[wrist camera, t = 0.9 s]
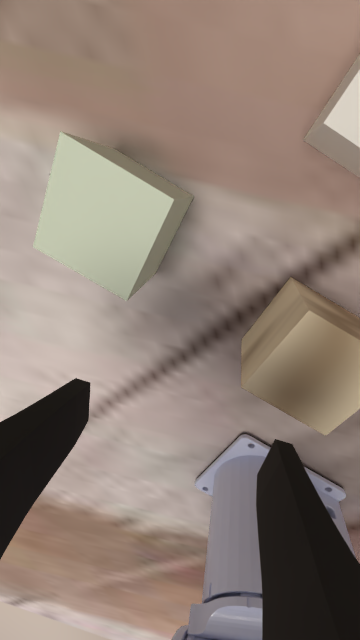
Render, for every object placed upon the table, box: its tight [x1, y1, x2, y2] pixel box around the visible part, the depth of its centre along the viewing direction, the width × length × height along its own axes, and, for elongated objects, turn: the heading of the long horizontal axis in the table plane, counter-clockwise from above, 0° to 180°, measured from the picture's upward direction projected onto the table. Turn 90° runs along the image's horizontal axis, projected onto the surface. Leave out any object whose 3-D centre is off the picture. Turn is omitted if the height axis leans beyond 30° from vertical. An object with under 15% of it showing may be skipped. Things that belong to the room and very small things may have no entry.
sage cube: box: [33, 131, 194, 301], centre depth 14 cm, size 5×5×5 cm
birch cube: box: [241, 277, 360, 436], centre depth 15 cm, size 5×5×5 cm
